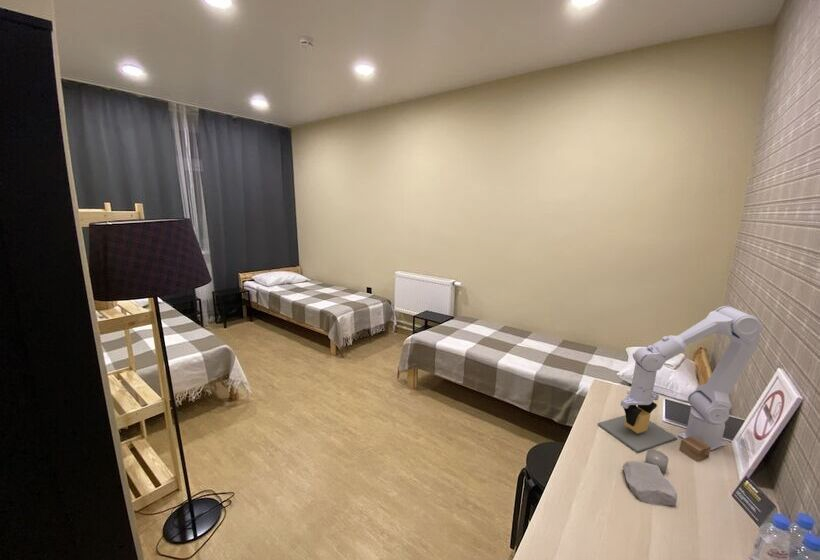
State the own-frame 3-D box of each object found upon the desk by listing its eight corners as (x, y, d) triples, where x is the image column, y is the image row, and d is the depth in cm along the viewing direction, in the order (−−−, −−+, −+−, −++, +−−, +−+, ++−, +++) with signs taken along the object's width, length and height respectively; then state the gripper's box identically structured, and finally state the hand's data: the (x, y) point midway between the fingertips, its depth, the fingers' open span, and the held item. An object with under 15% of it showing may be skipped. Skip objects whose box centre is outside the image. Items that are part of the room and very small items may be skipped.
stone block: (637, 509, 85) (681, 508, 83) (635, 492, 84) (680, 491, 82) (617, 474, 97) (655, 472, 95) (615, 459, 96) (654, 457, 94)
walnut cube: (690, 447, 104) (692, 435, 104) (708, 458, 100) (711, 446, 99) (678, 450, 103) (681, 439, 102) (696, 462, 98) (699, 450, 97)
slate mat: (634, 414, 120) (635, 412, 120) (676, 439, 108) (677, 437, 107) (597, 425, 114) (597, 423, 114) (637, 453, 101) (637, 451, 101)
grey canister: (651, 459, 99) (653, 447, 98) (669, 471, 95) (672, 458, 94) (640, 464, 97) (643, 452, 96) (659, 476, 93) (662, 464, 92)
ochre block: (634, 421, 113) (636, 406, 111) (647, 430, 108) (650, 413, 107) (624, 424, 111) (627, 408, 110) (637, 433, 107) (640, 416, 106)
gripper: (646, 375, 113) (639, 410, 116) (614, 382, 108) (608, 419, 111) (668, 385, 106) (660, 423, 109) (635, 394, 101) (628, 433, 104)
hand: (635, 422), depth 110 cm, fingers closed on ochre block, 4 cm apart
